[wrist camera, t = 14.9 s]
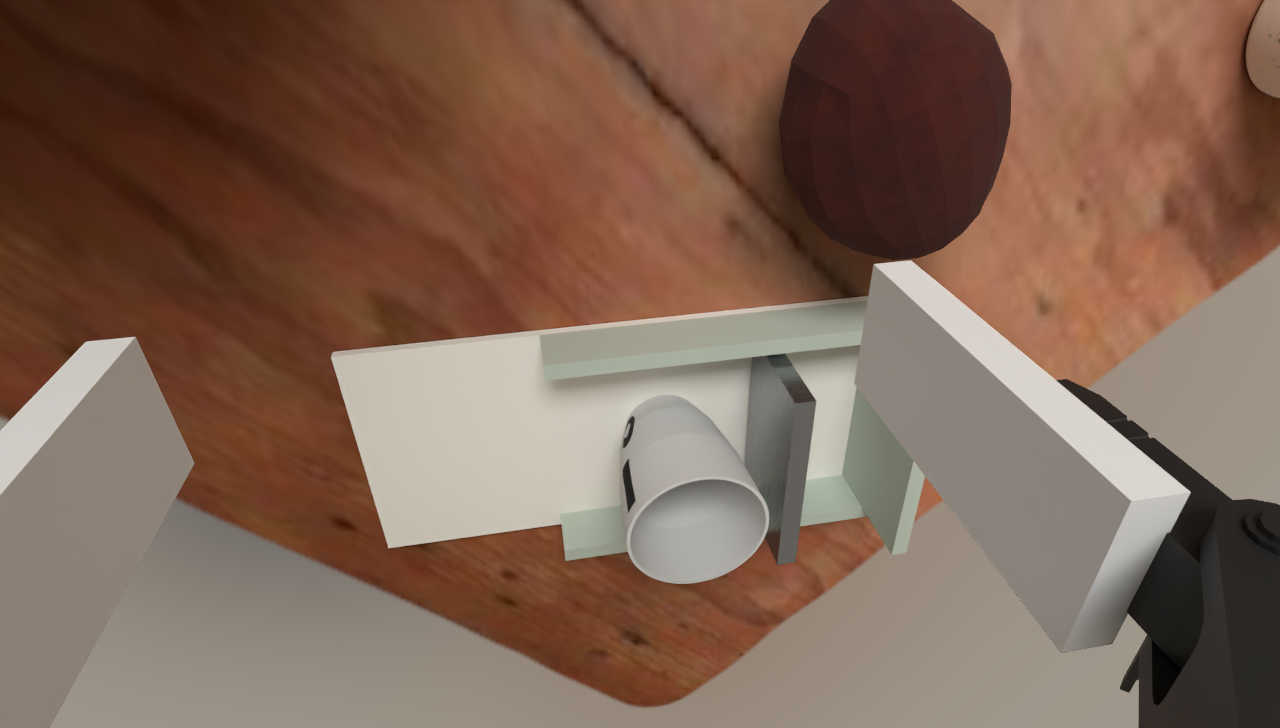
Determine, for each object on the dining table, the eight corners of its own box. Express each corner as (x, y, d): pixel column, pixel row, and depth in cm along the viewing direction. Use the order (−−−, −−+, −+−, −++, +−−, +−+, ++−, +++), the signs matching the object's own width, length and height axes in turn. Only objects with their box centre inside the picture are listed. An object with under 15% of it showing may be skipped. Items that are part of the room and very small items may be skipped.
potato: (794, 246, 43) (869, 329, 35) (710, 36, 36) (777, 74, 27) (965, 157, 42) (1086, 219, 33) (912, -80, 35) (1050, -78, 26)
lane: (389, 541, 50) (372, 646, 43) (332, 351, 42) (299, 442, 34) (849, 477, 54) (903, 563, 47) (881, 294, 46) (952, 364, 39)
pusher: (743, 486, 52) (777, 564, 45) (753, 335, 45) (795, 403, 39) (759, 483, 52) (795, 562, 46) (771, 333, 45) (816, 400, 39)
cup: (593, 389, 45) (616, 495, 37) (717, 363, 46) (766, 462, 38) (613, 483, 50) (637, 597, 41) (725, 458, 50) (771, 565, 42)
